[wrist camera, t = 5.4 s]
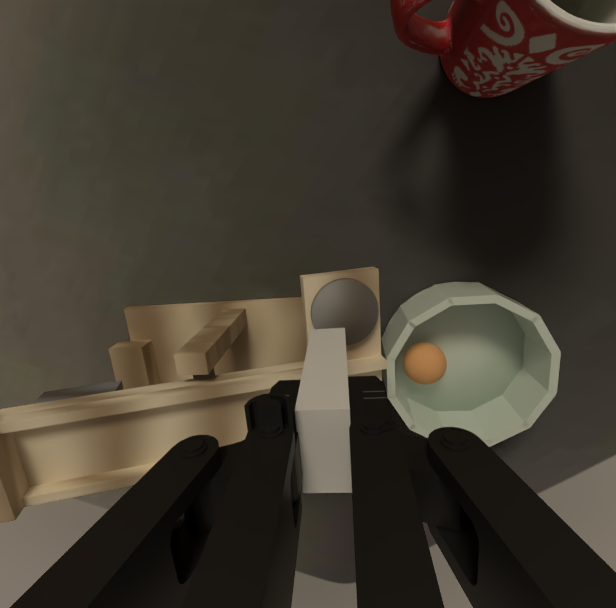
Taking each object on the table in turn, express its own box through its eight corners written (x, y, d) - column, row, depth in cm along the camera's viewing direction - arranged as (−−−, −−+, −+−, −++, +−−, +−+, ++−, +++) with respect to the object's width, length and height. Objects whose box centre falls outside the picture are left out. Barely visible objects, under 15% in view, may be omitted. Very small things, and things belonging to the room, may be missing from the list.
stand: (142, 414, 37) (66, 495, 27) (118, 307, 34) (23, 353, 24) (313, 410, 35) (301, 496, 25) (303, 296, 32) (285, 342, 22)
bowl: (383, 414, 35) (388, 447, 30) (378, 285, 32) (384, 300, 27) (522, 411, 33) (551, 446, 29) (533, 276, 30) (567, 291, 26)
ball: (455, 385, 30) (428, 369, 33) (456, 345, 29) (428, 333, 32) (420, 396, 29) (395, 378, 32) (419, 355, 28) (394, 341, 31)
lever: (49, 461, 27) (1, 528, 22) (0, 301, 24) (-71, 331, 18) (364, 403, 31) (394, 447, 26) (358, 260, 28) (390, 274, 23)
